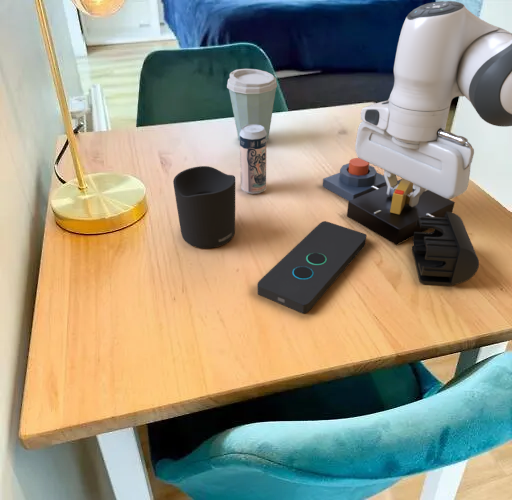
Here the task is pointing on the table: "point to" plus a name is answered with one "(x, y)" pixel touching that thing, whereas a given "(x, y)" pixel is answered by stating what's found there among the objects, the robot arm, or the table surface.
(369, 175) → the button box
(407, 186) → the rotary switch knob
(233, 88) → the disposable coffee cup
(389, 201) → the rotary switch
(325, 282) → the smart home device
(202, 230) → the pen holder
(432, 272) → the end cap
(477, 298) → the table surface
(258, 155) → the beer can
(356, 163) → the button
